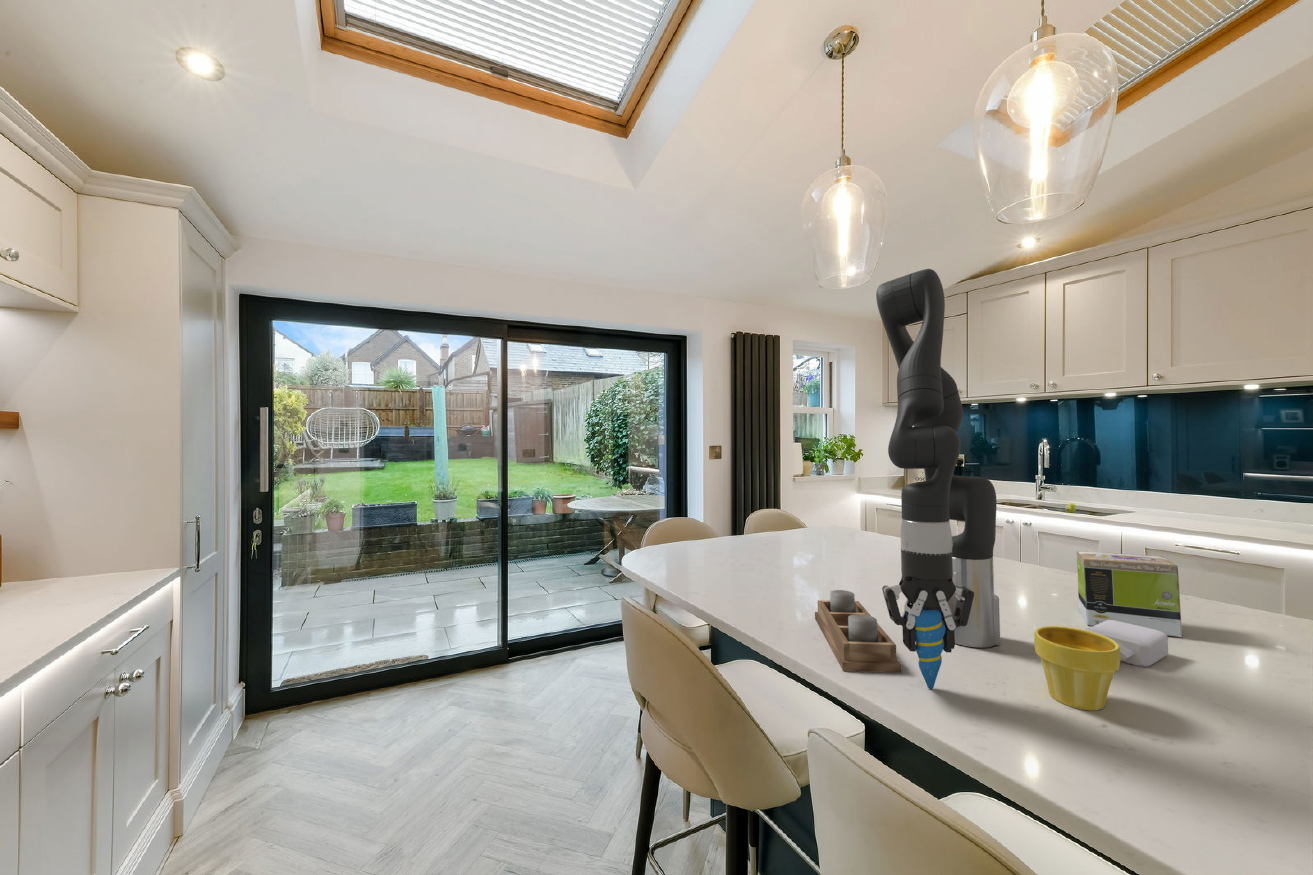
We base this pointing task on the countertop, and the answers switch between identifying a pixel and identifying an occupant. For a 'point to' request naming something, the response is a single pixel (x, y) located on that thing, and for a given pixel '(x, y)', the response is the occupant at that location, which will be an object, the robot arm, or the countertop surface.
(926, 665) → the ornament
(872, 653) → the wooden compartment tray
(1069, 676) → the plant pot
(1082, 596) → the tea box
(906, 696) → the countertop surface
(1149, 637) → the charger
